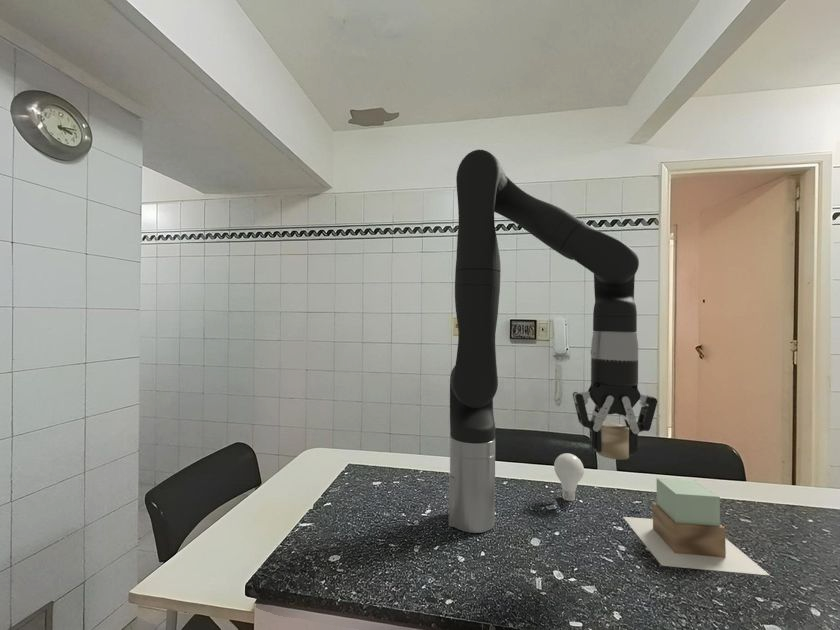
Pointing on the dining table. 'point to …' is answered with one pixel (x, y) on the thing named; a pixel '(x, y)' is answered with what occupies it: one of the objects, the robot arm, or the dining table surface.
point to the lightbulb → (568, 474)
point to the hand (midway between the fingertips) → (613, 451)
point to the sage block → (688, 502)
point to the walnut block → (689, 535)
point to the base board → (667, 557)
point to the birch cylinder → (614, 441)
